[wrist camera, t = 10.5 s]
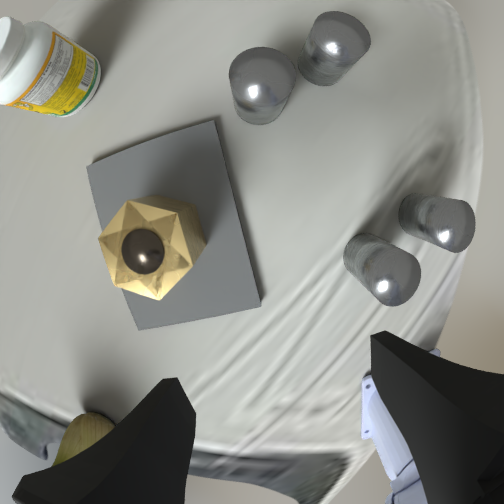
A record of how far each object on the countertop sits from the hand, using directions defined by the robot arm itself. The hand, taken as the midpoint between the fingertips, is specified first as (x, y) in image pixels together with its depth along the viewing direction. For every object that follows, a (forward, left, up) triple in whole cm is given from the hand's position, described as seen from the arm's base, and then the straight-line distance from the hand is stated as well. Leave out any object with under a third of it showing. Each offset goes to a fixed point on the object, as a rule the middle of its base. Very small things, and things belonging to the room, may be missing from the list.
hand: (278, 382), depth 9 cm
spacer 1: (+12, -2, -9) cm, 15 cm away
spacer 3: (0, -7, -9) cm, 12 cm away
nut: (+5, +5, -9) cm, 11 cm away
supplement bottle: (+18, +10, -10) cm, 23 cm away
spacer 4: (+2, -12, -9) cm, 15 cm away
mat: (+5, +5, -9) cm, 12 cm away
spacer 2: (+14, -7, -9) cm, 18 cm away
